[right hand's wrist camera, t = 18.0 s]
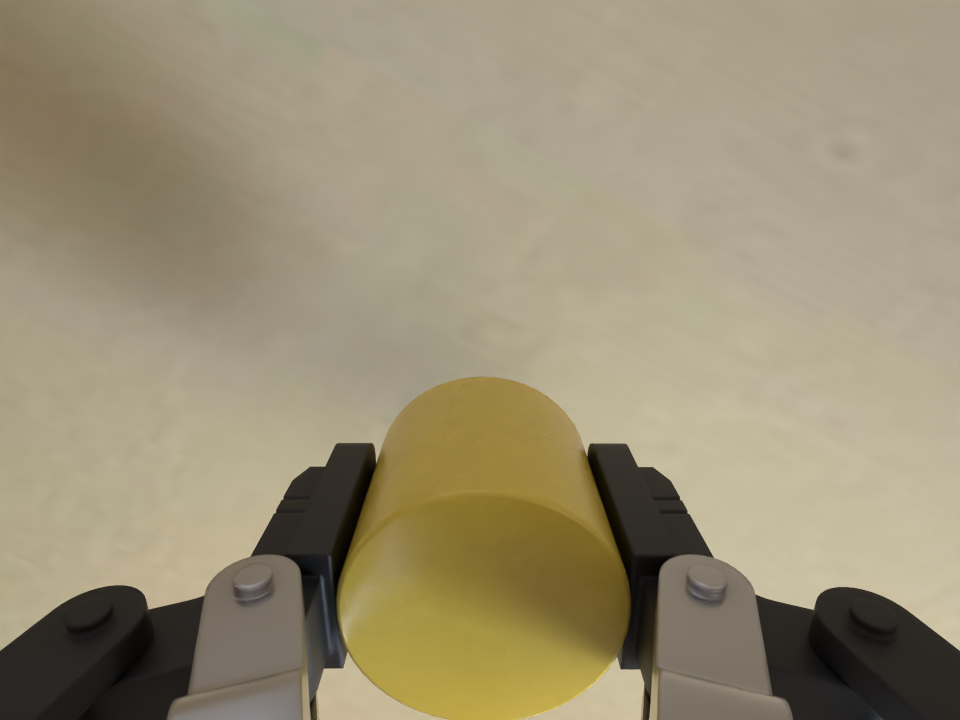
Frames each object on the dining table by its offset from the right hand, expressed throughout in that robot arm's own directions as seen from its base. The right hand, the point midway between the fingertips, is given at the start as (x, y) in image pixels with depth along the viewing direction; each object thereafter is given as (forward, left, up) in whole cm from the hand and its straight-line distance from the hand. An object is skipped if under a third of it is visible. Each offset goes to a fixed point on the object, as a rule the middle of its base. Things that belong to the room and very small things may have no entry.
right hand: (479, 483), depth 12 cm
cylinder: (0, 0, -1) cm, 1 cm away
